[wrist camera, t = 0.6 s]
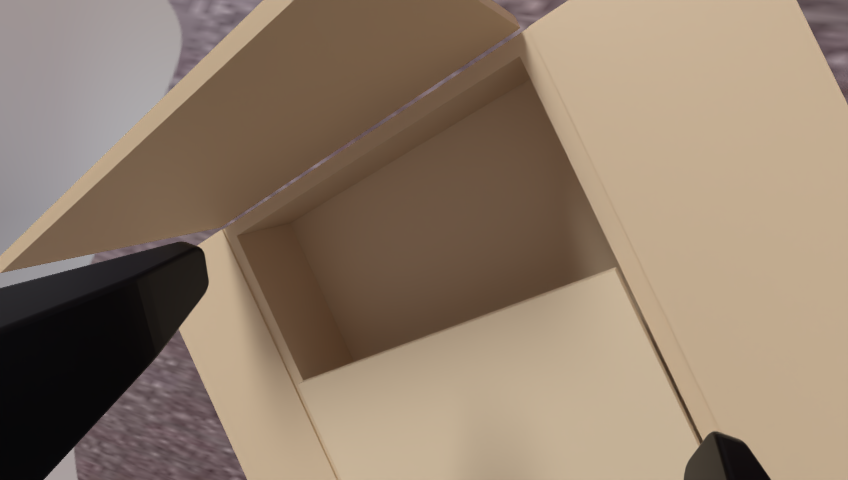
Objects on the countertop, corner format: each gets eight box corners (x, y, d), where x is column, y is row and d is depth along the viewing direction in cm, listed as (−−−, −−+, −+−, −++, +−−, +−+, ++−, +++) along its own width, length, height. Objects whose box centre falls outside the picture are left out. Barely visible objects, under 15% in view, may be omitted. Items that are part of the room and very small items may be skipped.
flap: (370, -71, 8) (359, -93, 8) (-1, 272, 15) (-5, 261, 15) (520, 27, 15) (514, 16, 15) (220, 227, 23) (217, 219, 23)
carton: (948, 394, 16) (1037, 480, 12) (330, 503, 29) (276, 560, 25) (726, -59, 16) (741, -120, 12) (217, 257, 30) (147, 275, 26)
